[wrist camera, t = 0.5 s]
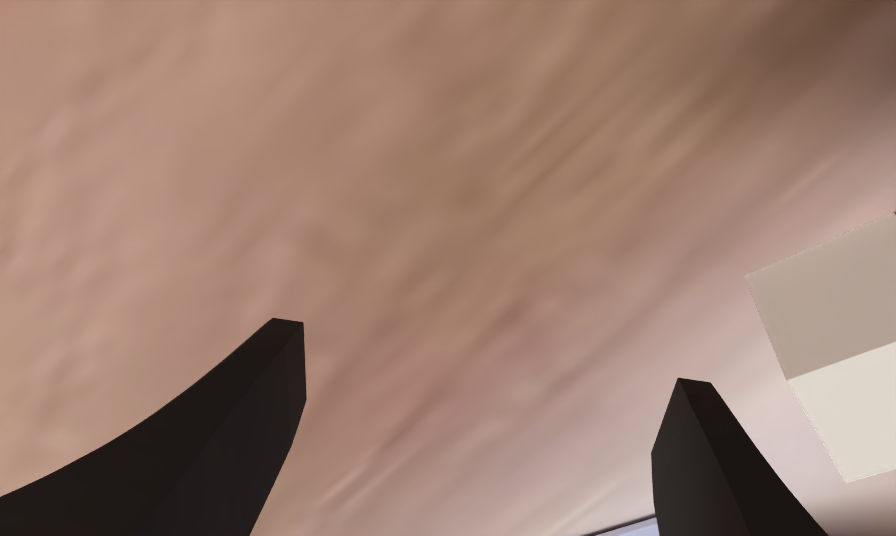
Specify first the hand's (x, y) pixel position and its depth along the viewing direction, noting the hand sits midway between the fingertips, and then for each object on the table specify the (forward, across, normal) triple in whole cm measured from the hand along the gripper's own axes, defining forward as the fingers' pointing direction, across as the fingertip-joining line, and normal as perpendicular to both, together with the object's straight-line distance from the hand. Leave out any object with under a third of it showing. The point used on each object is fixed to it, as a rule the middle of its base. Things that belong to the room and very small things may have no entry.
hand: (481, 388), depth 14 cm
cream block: (+10, -11, +3) cm, 15 cm away
